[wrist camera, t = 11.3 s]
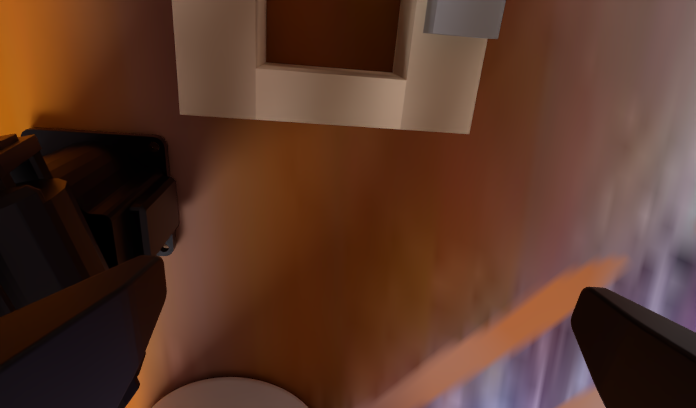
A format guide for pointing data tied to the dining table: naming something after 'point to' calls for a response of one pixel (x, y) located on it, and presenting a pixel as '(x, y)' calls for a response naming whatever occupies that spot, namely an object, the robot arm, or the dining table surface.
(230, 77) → the socket board
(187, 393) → the cylinder vase
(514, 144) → the dining table surface
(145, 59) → the dining table surface
